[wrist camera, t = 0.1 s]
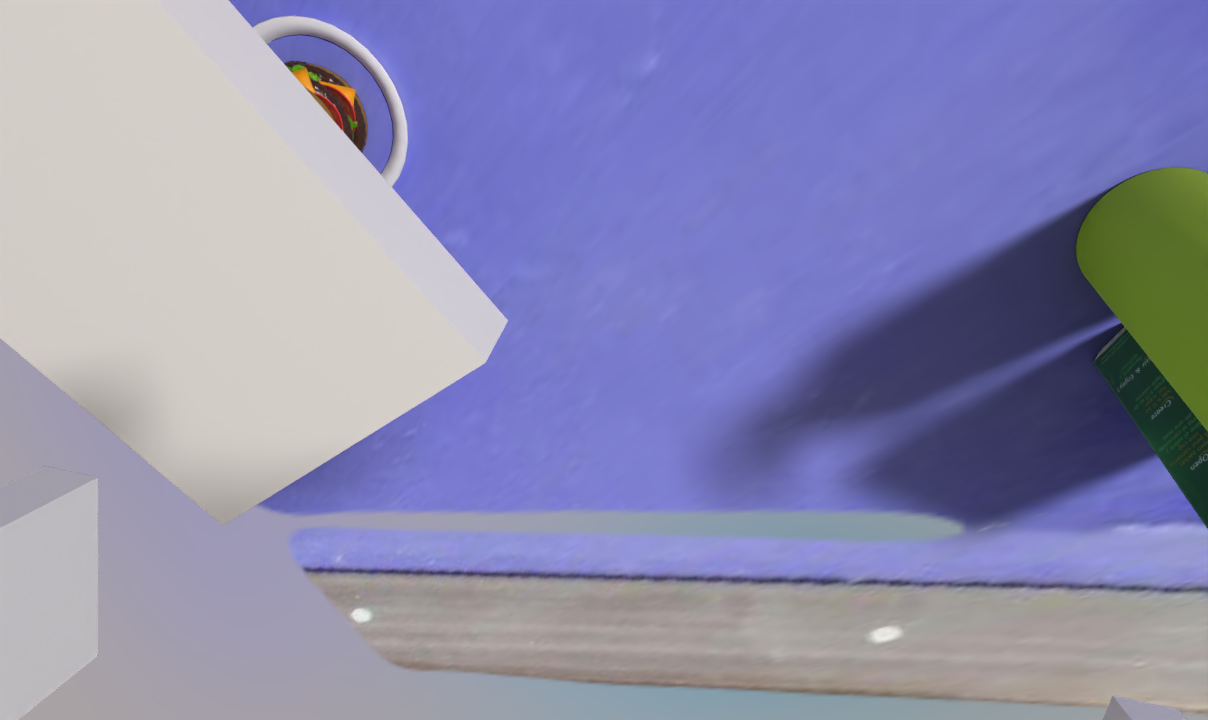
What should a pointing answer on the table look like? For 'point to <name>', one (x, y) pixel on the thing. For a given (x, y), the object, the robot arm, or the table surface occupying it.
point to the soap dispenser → (1156, 271)
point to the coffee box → (1159, 416)
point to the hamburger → (342, 86)
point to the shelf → (211, 249)
